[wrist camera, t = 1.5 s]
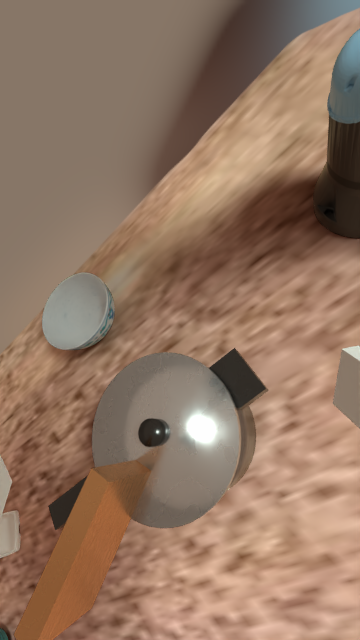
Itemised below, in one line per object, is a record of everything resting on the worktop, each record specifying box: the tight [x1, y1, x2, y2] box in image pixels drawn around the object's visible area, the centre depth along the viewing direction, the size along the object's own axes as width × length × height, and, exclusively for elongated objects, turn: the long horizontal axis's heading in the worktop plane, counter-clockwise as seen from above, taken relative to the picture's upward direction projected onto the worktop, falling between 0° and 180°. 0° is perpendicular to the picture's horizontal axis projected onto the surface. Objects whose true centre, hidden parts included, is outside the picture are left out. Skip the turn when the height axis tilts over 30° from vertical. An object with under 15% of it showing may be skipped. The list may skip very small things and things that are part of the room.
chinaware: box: [42, 273, 115, 350], centre depth 58 cm, size 15×15×8 cm
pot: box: [49, 348, 268, 530], centre depth 42 cm, size 32×18×12 cm, turn 124°
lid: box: [14, 353, 241, 640], centre depth 31 cm, size 28×19×9 cm, turn 154°
